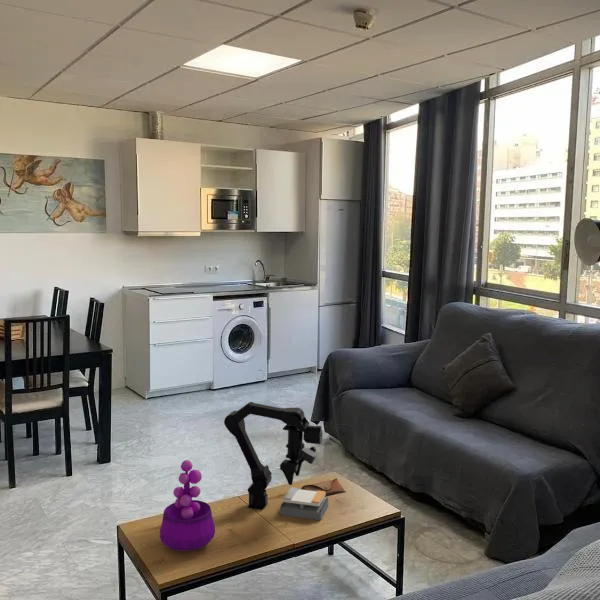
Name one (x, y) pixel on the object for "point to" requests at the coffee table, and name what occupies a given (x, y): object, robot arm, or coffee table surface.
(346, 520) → the coffee table surface
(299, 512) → the box
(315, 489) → the sunglasses case
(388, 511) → the coffee table surface
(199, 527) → the decorative plant
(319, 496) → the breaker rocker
